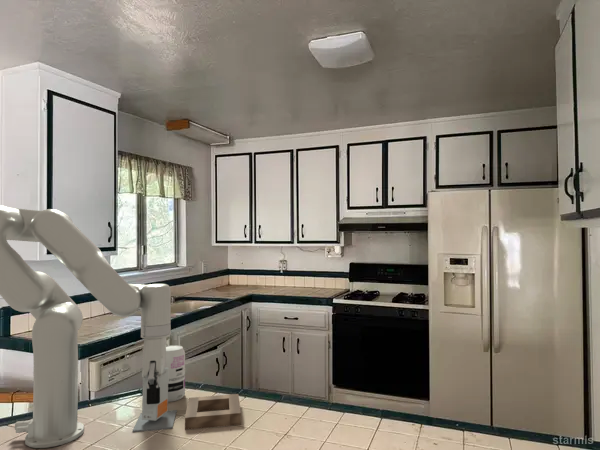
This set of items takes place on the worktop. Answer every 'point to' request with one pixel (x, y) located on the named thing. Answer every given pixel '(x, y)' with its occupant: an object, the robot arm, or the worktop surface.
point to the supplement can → (175, 372)
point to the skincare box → (160, 409)
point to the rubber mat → (156, 422)
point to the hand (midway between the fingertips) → (155, 397)
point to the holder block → (213, 418)
